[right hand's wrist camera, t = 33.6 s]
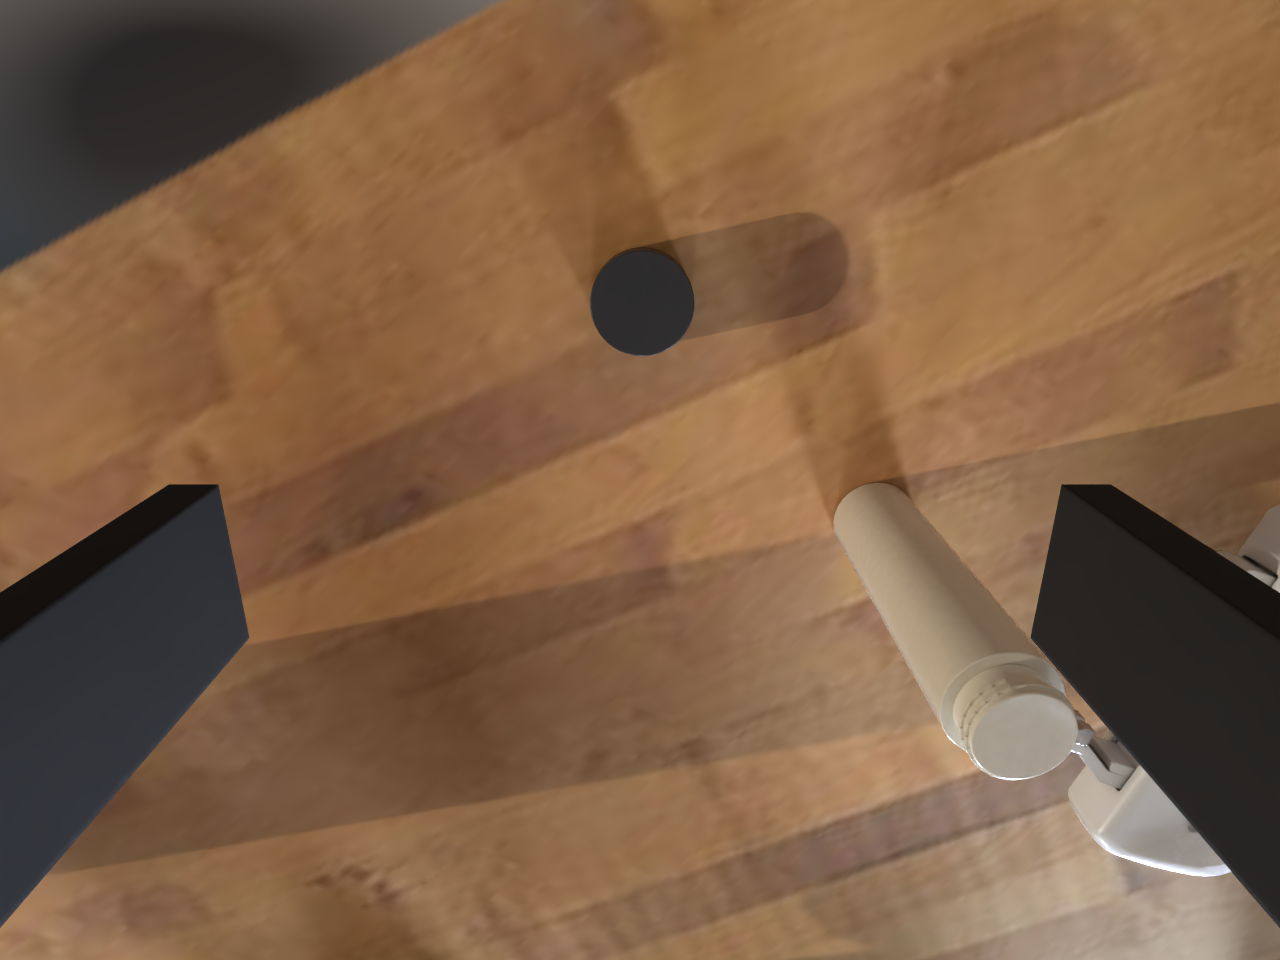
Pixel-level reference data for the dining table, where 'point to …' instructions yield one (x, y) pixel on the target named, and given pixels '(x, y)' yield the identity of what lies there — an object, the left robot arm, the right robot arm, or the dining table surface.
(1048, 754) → the slim white bottle
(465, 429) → the dining table surface
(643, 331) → the lid
